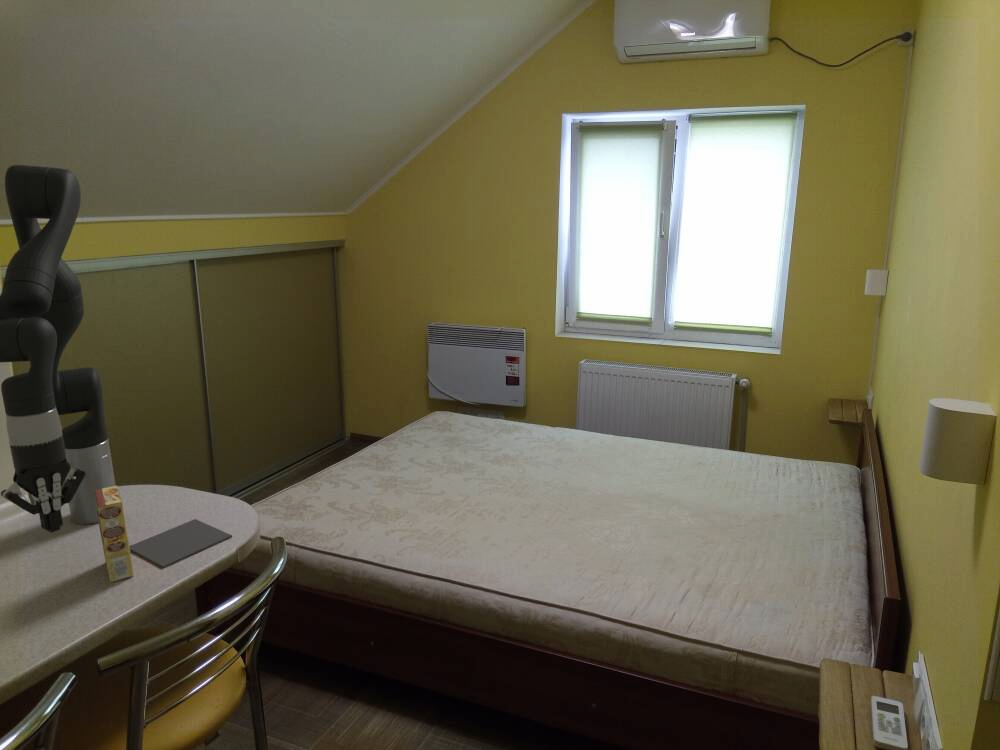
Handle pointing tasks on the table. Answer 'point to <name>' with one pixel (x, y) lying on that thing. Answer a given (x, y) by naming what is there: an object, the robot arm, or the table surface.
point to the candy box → (113, 533)
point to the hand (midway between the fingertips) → (53, 530)
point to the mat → (179, 543)
